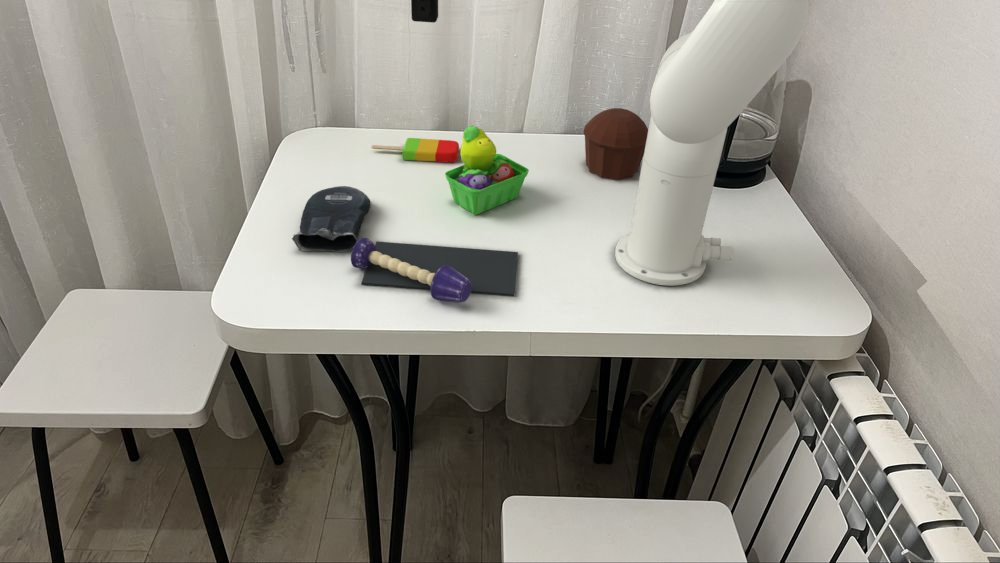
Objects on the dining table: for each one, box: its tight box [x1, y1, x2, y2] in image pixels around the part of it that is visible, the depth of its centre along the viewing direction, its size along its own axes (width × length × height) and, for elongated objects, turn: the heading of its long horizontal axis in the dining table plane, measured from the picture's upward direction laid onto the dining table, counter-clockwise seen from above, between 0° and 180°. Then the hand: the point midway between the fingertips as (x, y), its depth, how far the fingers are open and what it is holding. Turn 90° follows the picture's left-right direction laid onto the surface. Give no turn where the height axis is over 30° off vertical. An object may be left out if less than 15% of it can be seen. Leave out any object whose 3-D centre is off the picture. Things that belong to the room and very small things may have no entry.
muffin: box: [582, 107, 649, 181], centre depth 125 cm, size 12×11×10 cm
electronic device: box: [291, 185, 372, 253], centre depth 108 cm, size 9×6×15 cm
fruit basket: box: [444, 125, 530, 216], centre depth 114 cm, size 11×9×11 cm
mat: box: [360, 241, 519, 297], centre depth 101 cm, size 20×10×1 cm, turn 87°
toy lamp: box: [350, 237, 472, 303], centre depth 96 cm, size 5×5×17 cm
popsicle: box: [370, 137, 460, 163], centre depth 128 cm, size 6×15×2 cm, turn 88°
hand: (425, 19), depth 95 cm, fingers closed
